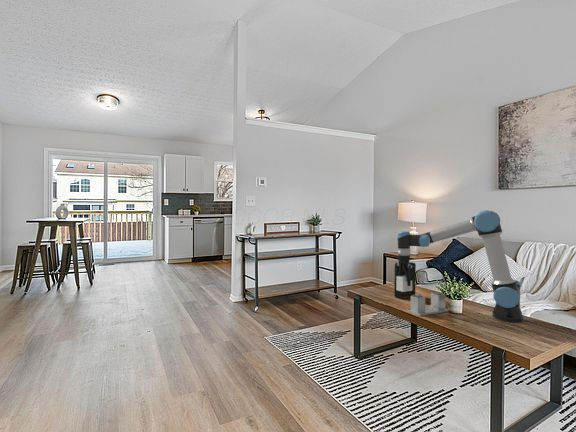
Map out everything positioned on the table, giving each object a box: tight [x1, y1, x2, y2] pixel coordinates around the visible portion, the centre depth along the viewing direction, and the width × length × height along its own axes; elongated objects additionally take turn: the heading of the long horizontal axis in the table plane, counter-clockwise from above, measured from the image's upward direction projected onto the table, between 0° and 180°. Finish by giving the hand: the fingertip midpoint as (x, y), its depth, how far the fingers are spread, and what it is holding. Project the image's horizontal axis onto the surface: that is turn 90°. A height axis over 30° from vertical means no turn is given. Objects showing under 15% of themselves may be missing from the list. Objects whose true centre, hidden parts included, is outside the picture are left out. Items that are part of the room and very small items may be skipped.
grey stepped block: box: [407, 291, 449, 317], centre depth 202 cm, size 24×10×11 cm, turn 113°
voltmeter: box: [393, 261, 417, 300], centre depth 236 cm, size 16×9×25 cm, turn 120°
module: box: [396, 275, 412, 292], centre depth 212 cm, size 8×6×9 cm
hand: (404, 289), depth 212 cm, fingers closed on module, 6 cm apart
